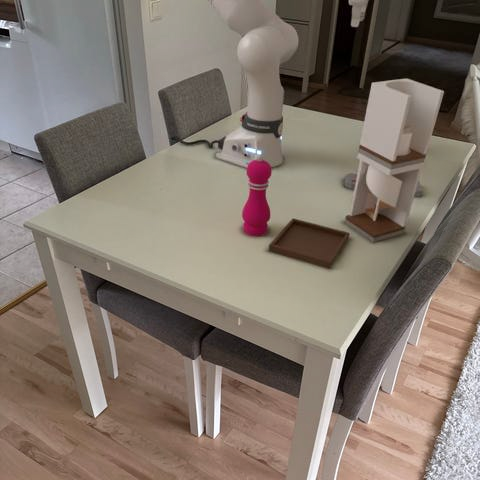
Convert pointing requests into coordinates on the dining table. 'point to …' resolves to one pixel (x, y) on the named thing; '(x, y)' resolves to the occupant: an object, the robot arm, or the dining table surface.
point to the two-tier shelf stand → (392, 155)
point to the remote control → (351, 178)
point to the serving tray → (309, 243)
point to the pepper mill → (257, 198)
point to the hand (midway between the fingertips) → (357, 23)
